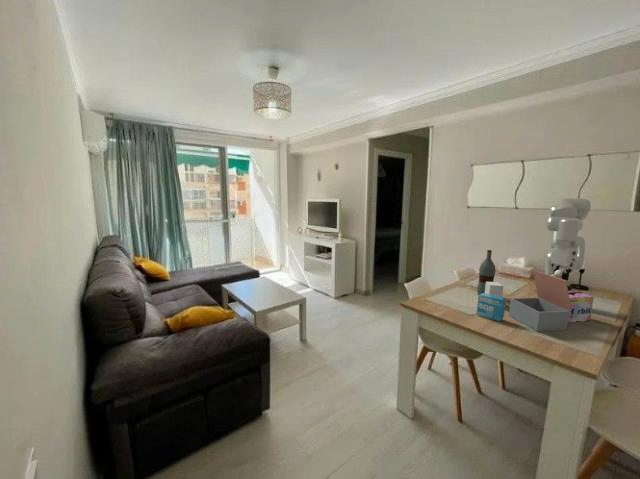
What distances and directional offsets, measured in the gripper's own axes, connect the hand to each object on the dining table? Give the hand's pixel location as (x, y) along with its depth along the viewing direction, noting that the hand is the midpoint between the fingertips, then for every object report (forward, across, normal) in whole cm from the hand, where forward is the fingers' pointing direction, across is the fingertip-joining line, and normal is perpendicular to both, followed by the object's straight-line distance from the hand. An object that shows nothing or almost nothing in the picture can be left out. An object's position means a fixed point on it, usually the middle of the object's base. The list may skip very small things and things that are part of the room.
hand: (560, 278), depth 145 cm
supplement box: (+24, +26, +15) cm, 38 cm away
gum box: (+24, +3, -10) cm, 26 cm away
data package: (+24, +8, +30) cm, 39 cm away
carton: (+24, 0, +10) cm, 26 cm away
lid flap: (+6, 0, +4) cm, 7 cm away
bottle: (+24, +40, +10) cm, 48 cm away
